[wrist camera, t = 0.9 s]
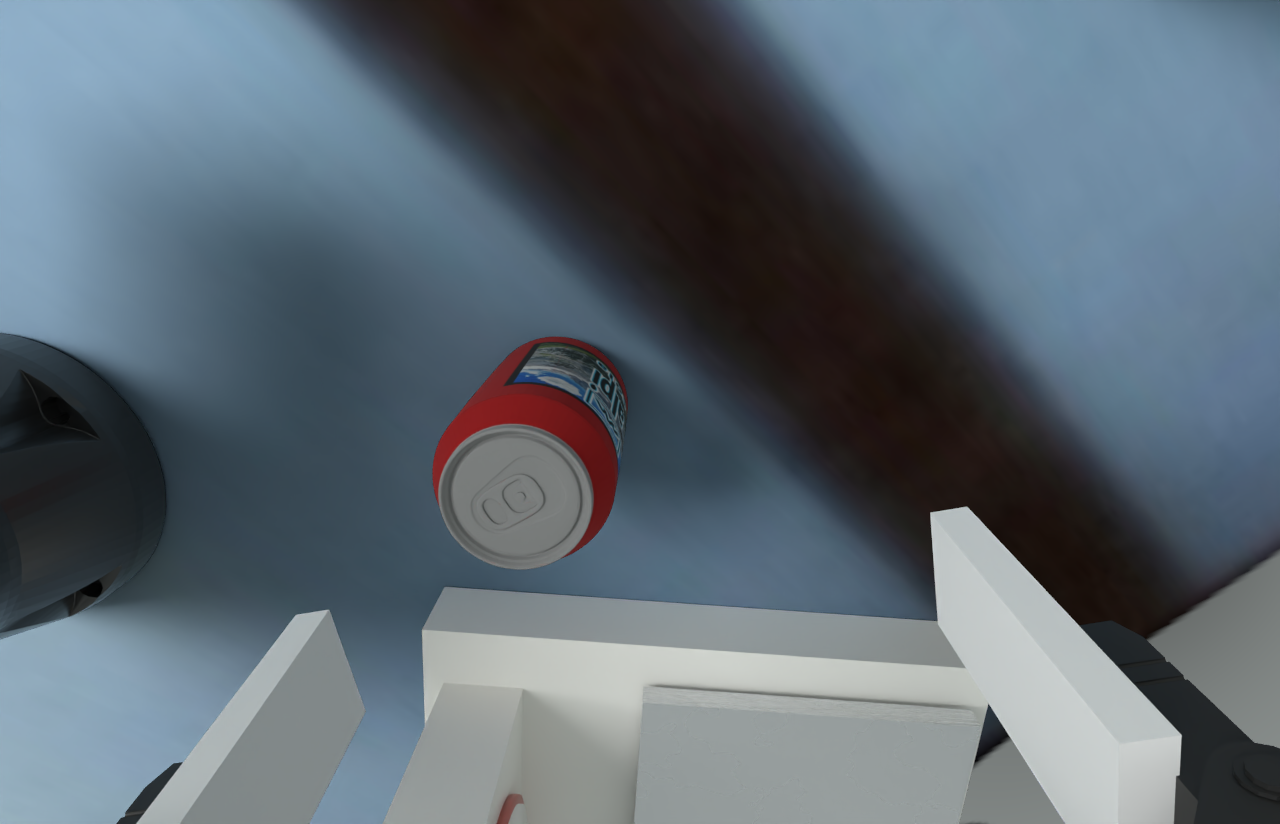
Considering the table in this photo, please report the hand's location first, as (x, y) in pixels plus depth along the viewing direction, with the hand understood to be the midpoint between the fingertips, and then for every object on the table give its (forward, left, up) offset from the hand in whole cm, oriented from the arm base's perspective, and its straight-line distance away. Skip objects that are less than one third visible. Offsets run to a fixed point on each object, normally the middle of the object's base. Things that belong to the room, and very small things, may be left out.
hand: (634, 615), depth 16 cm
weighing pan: (+9, -24, -17) cm, 31 cm away
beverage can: (-4, -2, -22) cm, 22 cm away
